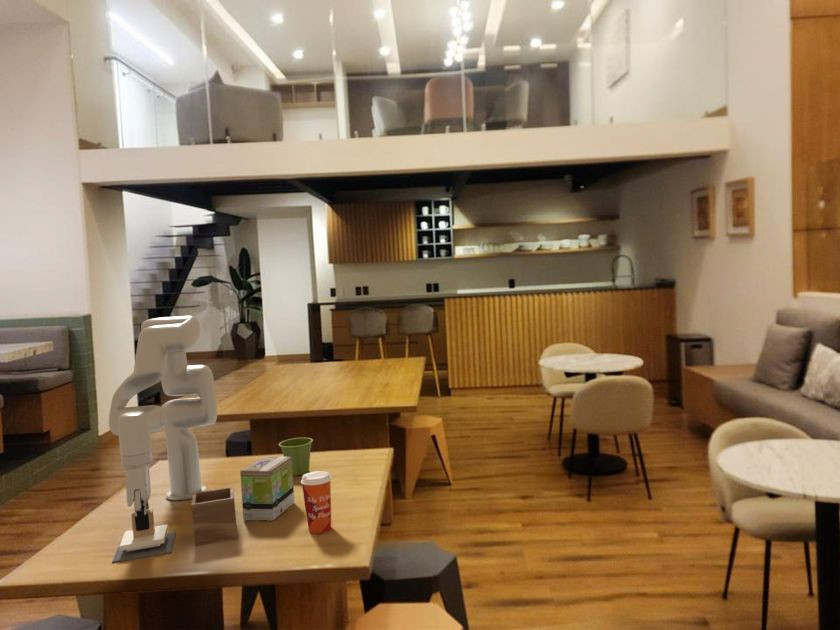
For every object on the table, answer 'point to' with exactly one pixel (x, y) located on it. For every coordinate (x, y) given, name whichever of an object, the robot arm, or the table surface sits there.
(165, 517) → the table surface
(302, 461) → the plant pot
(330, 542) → the table surface
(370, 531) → the table surface
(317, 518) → the coffee cup
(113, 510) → the table surface
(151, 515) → the lid
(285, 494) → the tea box
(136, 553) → the mat
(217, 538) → the box
